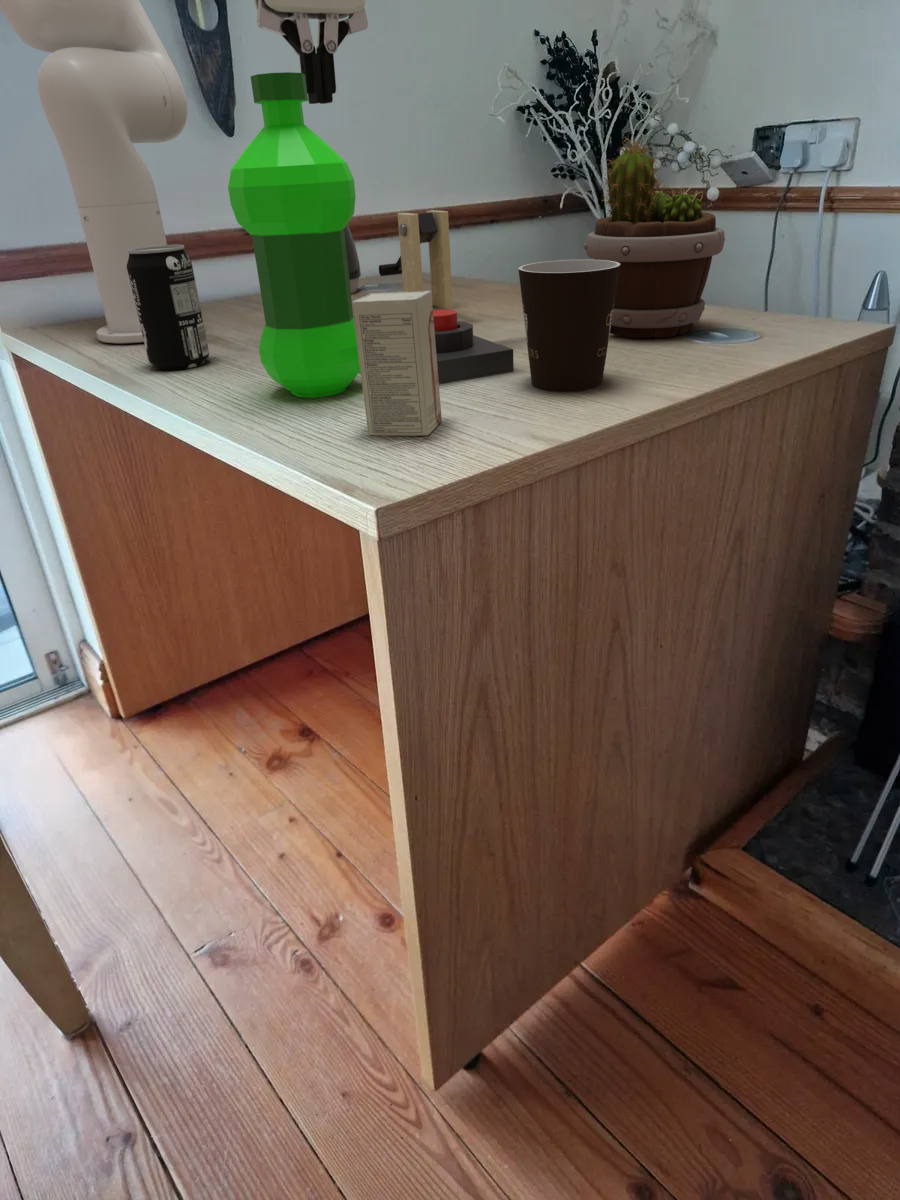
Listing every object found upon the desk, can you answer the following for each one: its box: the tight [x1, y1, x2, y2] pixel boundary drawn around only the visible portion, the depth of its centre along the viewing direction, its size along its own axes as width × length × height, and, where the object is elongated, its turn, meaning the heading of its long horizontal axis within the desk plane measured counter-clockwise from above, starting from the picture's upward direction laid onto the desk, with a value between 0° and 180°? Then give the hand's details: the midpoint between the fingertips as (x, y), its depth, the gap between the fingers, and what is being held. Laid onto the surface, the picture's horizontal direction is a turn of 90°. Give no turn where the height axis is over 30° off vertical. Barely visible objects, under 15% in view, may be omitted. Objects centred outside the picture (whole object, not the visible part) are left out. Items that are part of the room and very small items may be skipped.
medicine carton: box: [352, 290, 443, 437], centre depth 61 cm, size 5×4×10 cm
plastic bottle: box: [227, 71, 360, 399], centre depth 69 cm, size 10×10×25 cm
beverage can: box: [127, 244, 210, 371], centre depth 86 cm, size 7×7×12 cm
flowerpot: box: [583, 130, 726, 339], centre depth 87 cm, size 14×15×20 cm
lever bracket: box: [397, 209, 454, 310], centre depth 102 cm, size 10×8×13 cm
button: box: [433, 309, 459, 331], centre depth 78 cm, size 4×4×2 cm
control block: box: [435, 320, 515, 385], centre depth 80 cm, size 12×10×4 cm
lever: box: [378, 212, 437, 277], centre depth 104 cm, size 13×6×2 cm, turn 25°
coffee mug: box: [517, 259, 620, 393], centre depth 71 cm, size 12×9×10 cm
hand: (320, 102), depth 79 cm, fingers closed
